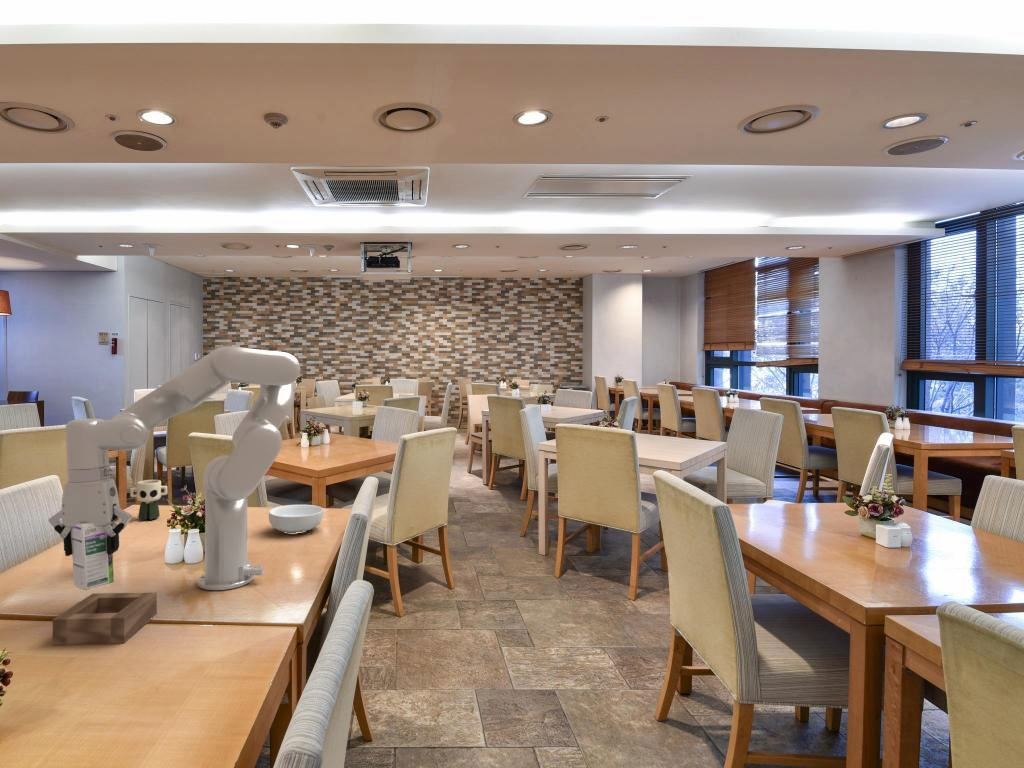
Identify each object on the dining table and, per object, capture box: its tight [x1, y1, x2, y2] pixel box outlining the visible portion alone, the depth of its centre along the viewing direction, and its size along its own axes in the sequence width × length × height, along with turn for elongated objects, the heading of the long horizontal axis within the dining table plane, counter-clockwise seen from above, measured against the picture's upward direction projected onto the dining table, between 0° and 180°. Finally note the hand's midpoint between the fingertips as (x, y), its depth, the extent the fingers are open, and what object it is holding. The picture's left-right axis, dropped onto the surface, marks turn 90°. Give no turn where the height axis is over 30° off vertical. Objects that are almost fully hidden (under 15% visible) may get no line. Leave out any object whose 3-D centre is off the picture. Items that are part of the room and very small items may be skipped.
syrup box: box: [71, 523, 115, 592], centre depth 132 cm, size 6×6×14 cm
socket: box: [52, 591, 158, 646], centre depth 122 cm, size 13×13×5 cm
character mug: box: [129, 479, 168, 521], centre depth 204 cm, size 11×7×13 cm, turn 116°
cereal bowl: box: [268, 504, 324, 533], centre depth 194 cm, size 17×17×7 cm
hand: (92, 552), depth 132 cm, fingers closed on syrup box, 8 cm apart
